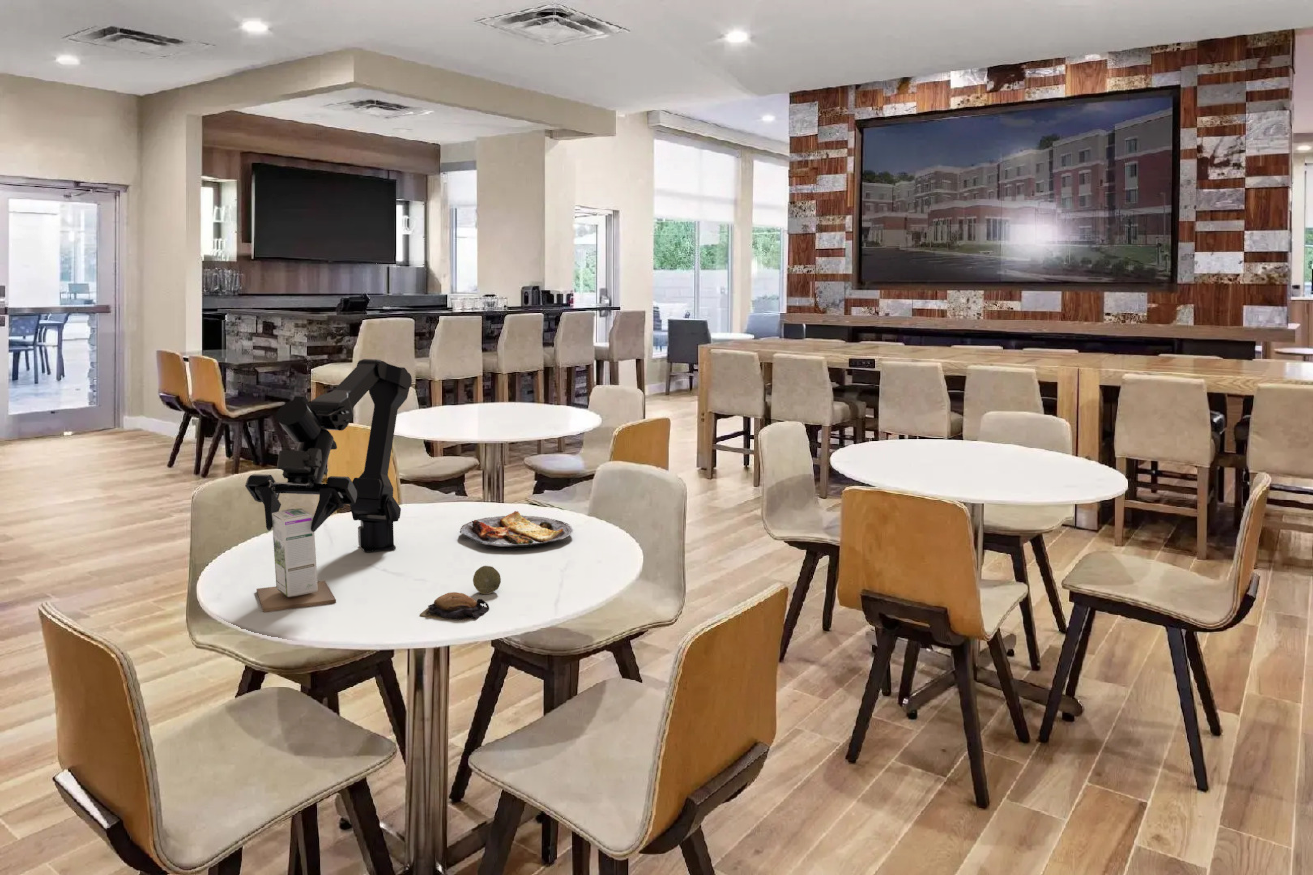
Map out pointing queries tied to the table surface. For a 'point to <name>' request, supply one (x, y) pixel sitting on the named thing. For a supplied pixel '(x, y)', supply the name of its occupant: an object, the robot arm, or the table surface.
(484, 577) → the lime
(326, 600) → the plate
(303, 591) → the syrup box
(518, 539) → the food plate
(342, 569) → the table surface
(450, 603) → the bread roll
